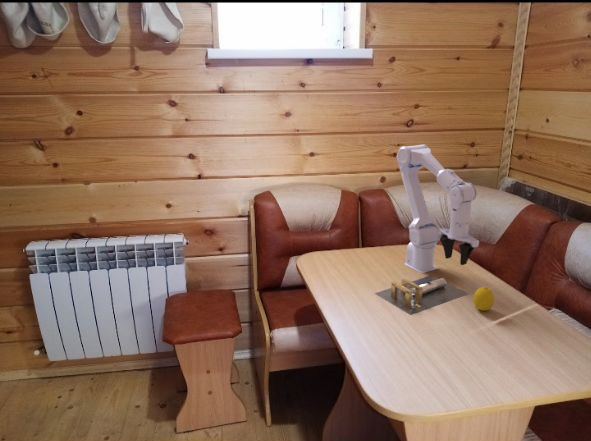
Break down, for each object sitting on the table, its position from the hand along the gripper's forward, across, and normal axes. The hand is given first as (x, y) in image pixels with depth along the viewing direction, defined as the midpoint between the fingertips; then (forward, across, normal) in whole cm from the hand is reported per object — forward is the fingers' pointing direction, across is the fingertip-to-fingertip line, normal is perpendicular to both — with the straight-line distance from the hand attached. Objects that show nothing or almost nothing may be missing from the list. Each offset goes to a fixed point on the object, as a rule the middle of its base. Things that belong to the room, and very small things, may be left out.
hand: (455, 260), depth 155 cm
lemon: (+9, +17, -7) cm, 20 cm away
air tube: (+8, 0, -12) cm, 14 cm away
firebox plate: (+8, 0, -14) cm, 17 cm away
